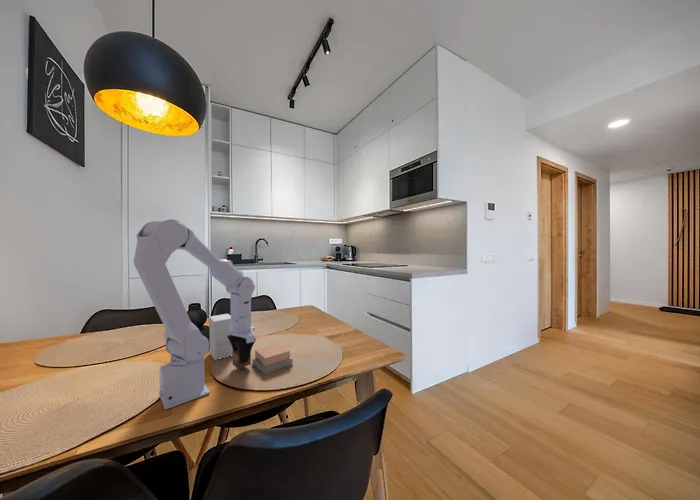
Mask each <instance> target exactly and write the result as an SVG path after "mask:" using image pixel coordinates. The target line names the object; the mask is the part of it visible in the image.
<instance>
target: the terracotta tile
mask: <svg viewBox="0 0 700 500" xmlns="http://www.w3.org/2000/svg"><path fill="white" fill-rule="evenodd" d="M254 353H255V355H254V358H256V359H257V360H258V361H260V362H261V363H262V364H263V365H264V366H265V367H266V366H269V365H272V364H275V363H278V362H281V361H284V360H287V359H290V357H291V350H289V349H287V347H284V346H283V345H282V344H280V343H275V344H272V345H268V346H264V347H261V348H256V349H255V351H254Z"/></svg>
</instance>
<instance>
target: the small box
mask: <svg viewBox="0 0 700 500" xmlns="http://www.w3.org/2000/svg"><path fill="white" fill-rule="evenodd" d="M208 319H209V321H208V322H209V323H208V325H209V326H208V327H209V354H210V356H212V358H213V361H215V360H216V361H218V360H217V359H219V358H224V357H227V356H231V355H232V351H233V349H232V345H231V343H230V341H229V339H228V338H227V336H229V335H231V334H230V325H231V314H229V313H223V314H218V315H212V316H211V315H210V316H209V317H208ZM231 357H232V356H231ZM227 358H228V357H227ZM224 359H225V358H224Z"/></svg>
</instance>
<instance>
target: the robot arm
mask: <svg viewBox="0 0 700 500" xmlns="http://www.w3.org/2000/svg"><path fill="white" fill-rule="evenodd" d="M135 237H136V240H137V242H136V247H135V251H134V257H133V264H134V267H135V269H136V270H137V273H138V276H139V277H140V280H141V282H142V284H143V285H144V287H145V289H146V291H147V295H148V296H149V298H150V300H151V302H152V304H153V306H154V309H155V311H156V312H157V315H158V316H159V318H160V321H161V322H162V324H163V326H164V328H165V329H164V332H163V337H164V338H165V339H164V340H165V345H164V346H165V347H164V348H165V350H166V353H168V354H169V355H170V362H168V363H166V364H163V365H160V366H159V393H158V394H159V398H160V401H161V404H162V405H163V409H164V410H168V409H171V408H174V407H176V406H180V405H182V404H186V403H187V402H190V401H192V400H196V399H199V398H202V397H204V396H206V395H208V394H211V391H210V389H209V388H208V387H207V385H206V383H205V356H206V355H207V353H208V352H209V350H210V340H209V338H207V337H206V336H205V335H203V334H202V333H201V331H200V329H199V328H198V327H197V325H195V324H194V323H193V322H192V321H191V319H190V317H189V314H188V312H187V310H186V307H185V306H184V303H183V301H182V298H181V296H180V294H179V292H178V289H177V288H176V286H175V282H174V281H173V279H172V277H171V274H170V272H169V270H168V268H167V265H166V263H167V262H168V261H169V258H170V257H171V255H172V254H173V253H174V252H176V251H177V250H181V251H186V253H189V254H190V255H191V256H192V257H194V258H195V259H197V260H198V261H199V262H201V263H202V264H203V265H205V266H206V267H207V268H209V275H210V276H212V277H213V278H214V279H215V280H216V281H218V282H219V283H220V284H221V285H223V286H224V287H225V291H226V292H227V293H229V296H230V300H229V301H230V316H231V325H230V334H231V335H229V336H227V338H228V339H229V341H230V343H231V345H232V349H233V351H236V350H238V352H239V358H240V362H241V363H245V362H248V361H249V357H250V352H251V351H252V348H253V346H254V345H255V343H256V341H257V340H256V337H255V334H254V333H253V331H255V329H256V327H255V326H253V325H252V299H253V293H254V292H255V288H256V285H255V284H254V281H253V279H252V278H251V277H249V276H245V275H244V272H243V271H241V270H238V268H236V267H235V266H234V265H233V261H232V260H229V259H228V260H227V259H225V258H223V259H219V257H218V256H216V254H214V252H212V250H210V249H209V248H208V247H207V246H206V244H205V243H203V242H202V241H201V240H200V239H199V238H198V237H197V236H196V234H195V233H194V230H192V229H190V228H189V227H187V225H185V224H184V223H183V222H182V221H181V220H178V219H172V218H171V219H166V220H160V221H159V220H158V221H157V220H155V221H154V220H153V221H152V220H151V221H149V222H147V223H145V224H144V225H143V226H142V227H141V228H140V230H139V231H138V232H137V234H136V236H135Z"/></svg>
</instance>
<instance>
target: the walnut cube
mask: <svg viewBox="0 0 700 500" xmlns="http://www.w3.org/2000/svg"><path fill="white" fill-rule="evenodd" d="M231 357H232V366H234V367H235V368H236V369H241V368H244V367H247V366H250V365H252V361H251V360H252V358H251V357H252V353H251V352H250V357H249V361H248V362H245V363H241V362H240V358H239V352H238V350H236V351H232V356H231Z"/></svg>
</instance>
